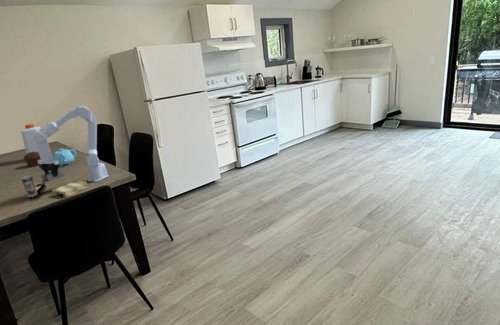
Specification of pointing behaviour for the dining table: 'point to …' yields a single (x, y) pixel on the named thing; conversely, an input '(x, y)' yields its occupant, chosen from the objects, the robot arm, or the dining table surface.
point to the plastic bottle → (30, 138)
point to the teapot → (65, 156)
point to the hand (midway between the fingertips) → (52, 176)
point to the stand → (70, 188)
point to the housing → (50, 176)
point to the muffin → (32, 159)
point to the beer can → (29, 186)
